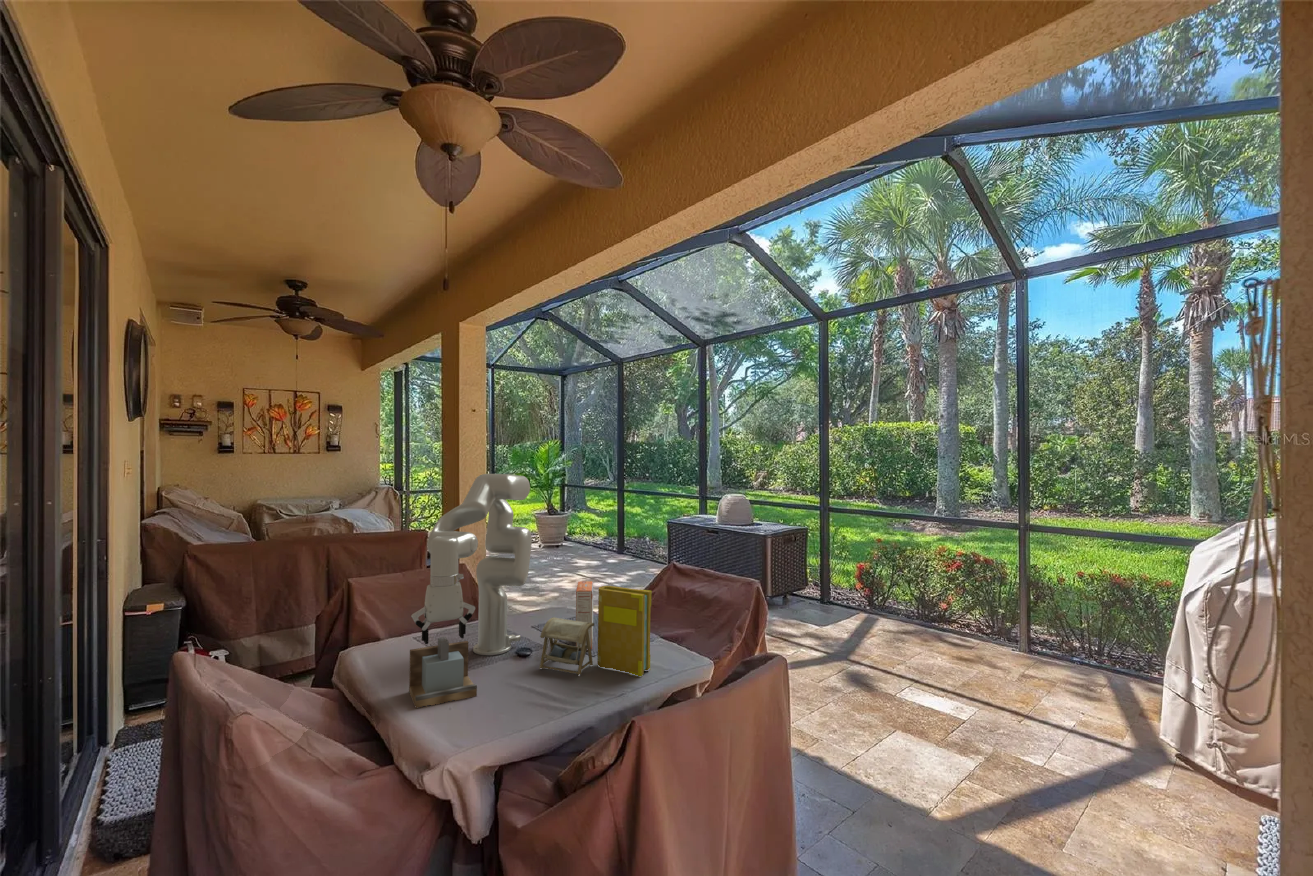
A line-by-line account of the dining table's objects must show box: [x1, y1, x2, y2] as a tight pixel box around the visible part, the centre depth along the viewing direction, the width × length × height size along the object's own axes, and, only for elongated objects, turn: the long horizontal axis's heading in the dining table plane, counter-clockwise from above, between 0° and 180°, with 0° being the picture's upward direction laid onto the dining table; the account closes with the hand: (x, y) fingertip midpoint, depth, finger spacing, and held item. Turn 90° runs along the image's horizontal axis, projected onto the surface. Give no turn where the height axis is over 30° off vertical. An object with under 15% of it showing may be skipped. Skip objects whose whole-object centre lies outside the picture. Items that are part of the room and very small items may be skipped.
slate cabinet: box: [422, 636, 464, 693], centre depth 166 cm, size 10×7×13 cm
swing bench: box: [539, 617, 595, 675], centre depth 186 cm, size 15×10×15 cm, turn 70°
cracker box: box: [575, 580, 594, 650], centre depth 209 cm, size 14×6×21 cm, turn 5°
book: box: [596, 585, 652, 677], centre depth 186 cm, size 17×7×25 cm, turn 65°
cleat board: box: [408, 640, 478, 709], centre depth 165 cm, size 16×12×12 cm
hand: (443, 639), depth 167 cm, fingers open, 9 cm apart
